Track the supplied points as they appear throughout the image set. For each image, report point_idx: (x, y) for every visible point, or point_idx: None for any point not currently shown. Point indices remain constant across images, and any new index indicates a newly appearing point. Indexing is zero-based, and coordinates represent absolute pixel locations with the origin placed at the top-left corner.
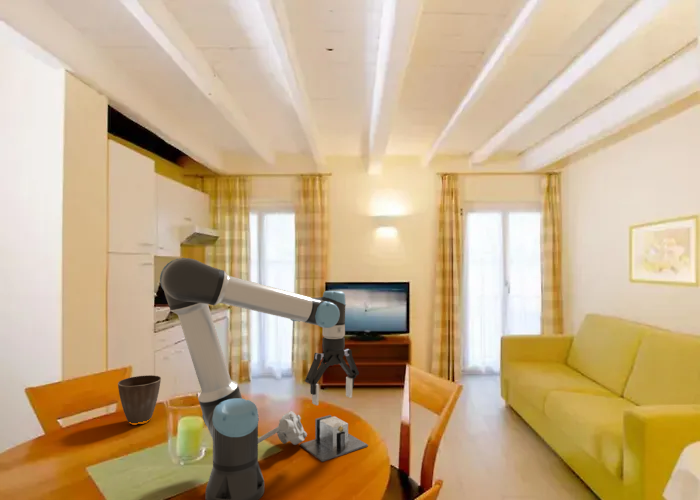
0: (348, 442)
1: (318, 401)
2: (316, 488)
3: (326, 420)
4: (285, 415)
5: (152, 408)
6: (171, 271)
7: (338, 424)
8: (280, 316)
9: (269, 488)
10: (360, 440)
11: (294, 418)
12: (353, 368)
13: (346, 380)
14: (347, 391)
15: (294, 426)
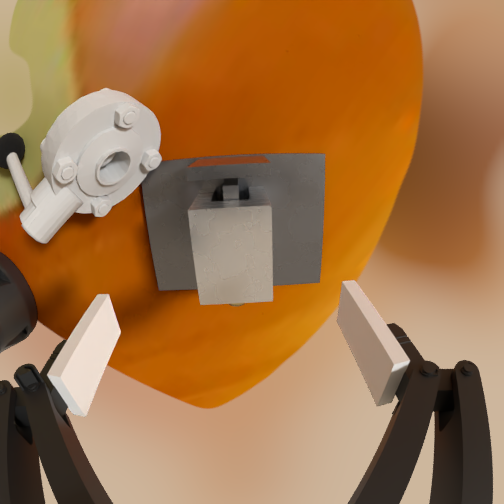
0: (282, 241)
1: (115, 344)
2: (117, 358)
3: (212, 229)
4: (48, 152)
5: None
6: None
7: (234, 291)
8: None
9: (44, 312)
10: (321, 249)
11: (86, 161)
12: (436, 448)
13: (381, 350)
14: (350, 314)
15: (85, 192)
